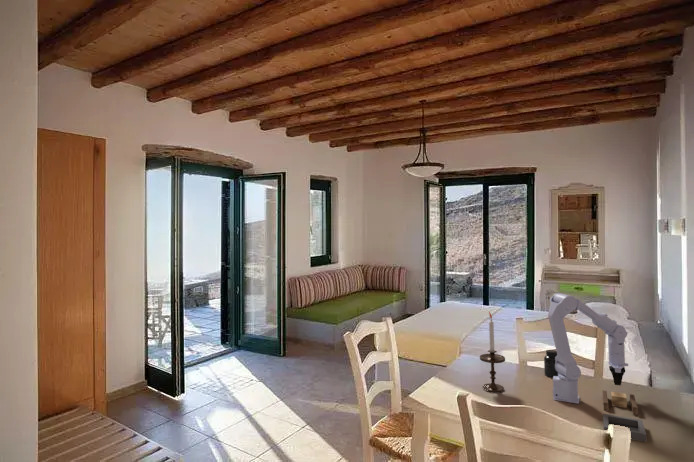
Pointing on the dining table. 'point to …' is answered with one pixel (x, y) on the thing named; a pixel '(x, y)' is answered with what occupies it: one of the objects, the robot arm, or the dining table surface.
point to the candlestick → (492, 360)
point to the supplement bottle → (550, 363)
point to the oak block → (619, 399)
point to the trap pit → (627, 425)
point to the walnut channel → (632, 402)
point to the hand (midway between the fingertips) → (617, 384)
